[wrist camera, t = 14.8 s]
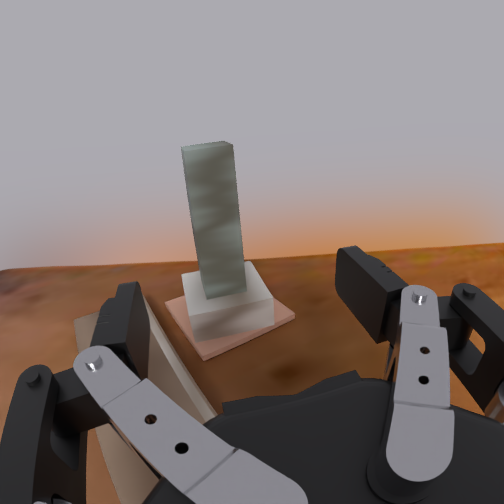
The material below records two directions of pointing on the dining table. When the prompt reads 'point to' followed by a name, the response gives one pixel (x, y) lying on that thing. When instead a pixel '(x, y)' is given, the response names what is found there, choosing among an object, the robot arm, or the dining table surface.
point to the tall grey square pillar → (220, 250)
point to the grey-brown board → (170, 383)
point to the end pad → (226, 343)
